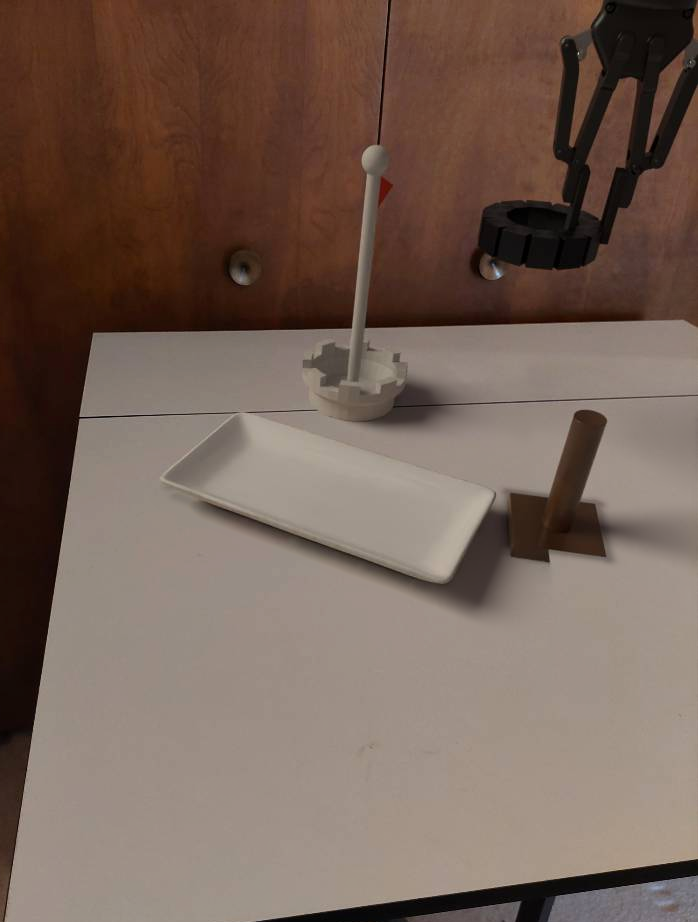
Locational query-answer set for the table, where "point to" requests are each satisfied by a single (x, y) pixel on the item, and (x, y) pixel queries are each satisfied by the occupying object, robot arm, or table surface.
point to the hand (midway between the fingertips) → (585, 237)
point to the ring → (538, 235)
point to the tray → (336, 495)
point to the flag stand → (358, 332)
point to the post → (562, 501)
